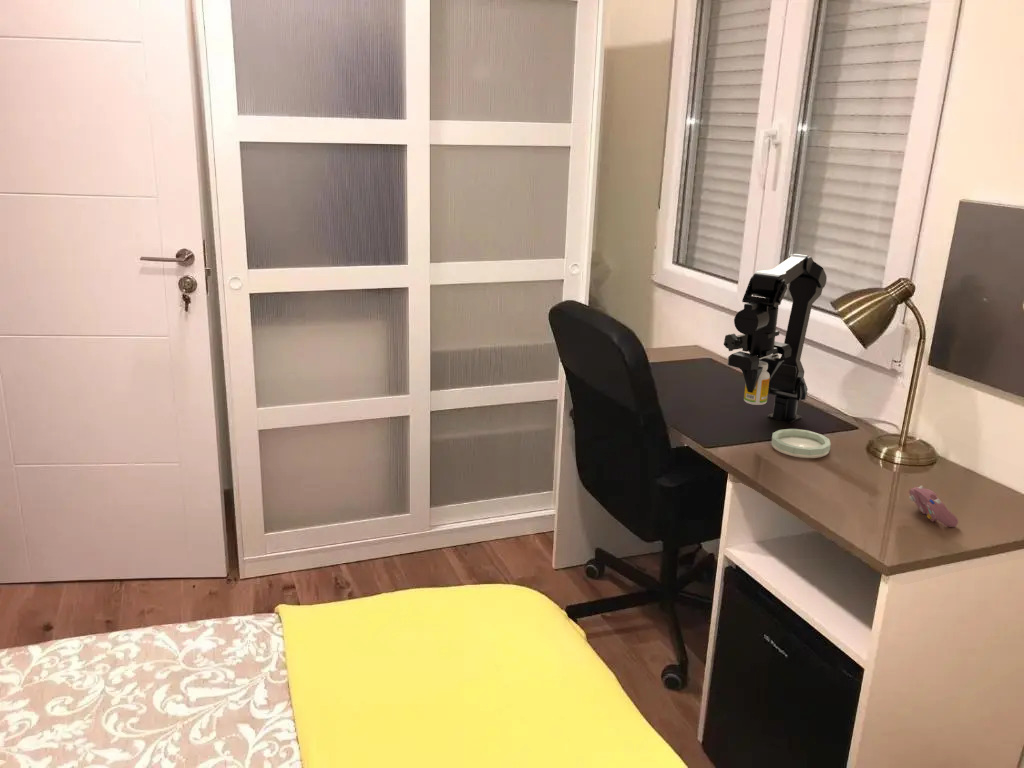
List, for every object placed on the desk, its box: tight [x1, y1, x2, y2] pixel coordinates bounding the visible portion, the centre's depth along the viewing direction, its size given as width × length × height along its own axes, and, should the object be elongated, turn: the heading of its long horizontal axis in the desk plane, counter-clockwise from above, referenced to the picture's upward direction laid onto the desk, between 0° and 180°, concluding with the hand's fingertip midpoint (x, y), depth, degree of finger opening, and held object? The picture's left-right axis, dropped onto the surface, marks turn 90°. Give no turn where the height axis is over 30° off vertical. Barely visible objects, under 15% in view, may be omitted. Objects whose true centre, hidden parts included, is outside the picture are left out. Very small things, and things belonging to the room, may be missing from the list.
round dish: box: [771, 428, 831, 459], centre depth 196 cm, size 13×13×2 cm
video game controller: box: [908, 485, 959, 528], centre depth 162 cm, size 10×5×7 cm, turn 4°
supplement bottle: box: [743, 361, 770, 406], centre depth 196 cm, size 5×5×10 cm
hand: (756, 389), depth 197 cm, fingers closed on supplement bottle, 5 cm apart
